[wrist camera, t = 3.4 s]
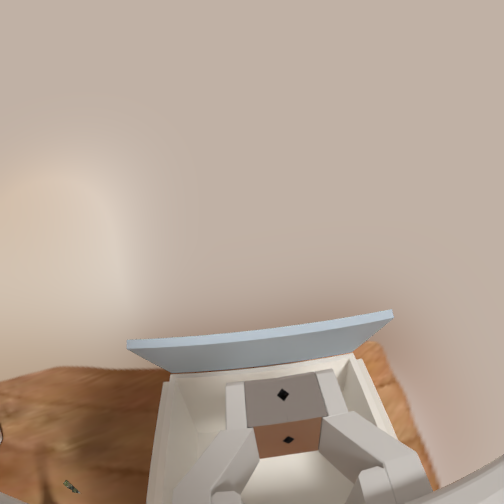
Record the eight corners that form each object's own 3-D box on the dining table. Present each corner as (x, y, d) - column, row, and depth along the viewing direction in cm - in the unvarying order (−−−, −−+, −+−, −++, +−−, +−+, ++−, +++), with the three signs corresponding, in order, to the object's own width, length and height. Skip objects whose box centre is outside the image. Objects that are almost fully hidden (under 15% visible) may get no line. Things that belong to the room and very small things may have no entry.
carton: (391, 560, 15) (436, 540, 10) (184, 586, 15) (140, 578, 10) (346, 413, 34) (358, 352, 29) (189, 432, 33) (164, 374, 29)
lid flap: (393, 317, 19) (391, 309, 19) (126, 348, 18) (126, 339, 19) (351, 352, 28) (350, 346, 29) (171, 373, 28) (171, 367, 28)
